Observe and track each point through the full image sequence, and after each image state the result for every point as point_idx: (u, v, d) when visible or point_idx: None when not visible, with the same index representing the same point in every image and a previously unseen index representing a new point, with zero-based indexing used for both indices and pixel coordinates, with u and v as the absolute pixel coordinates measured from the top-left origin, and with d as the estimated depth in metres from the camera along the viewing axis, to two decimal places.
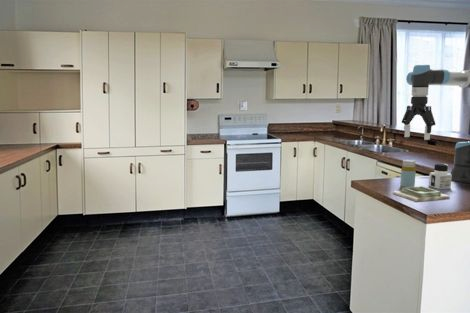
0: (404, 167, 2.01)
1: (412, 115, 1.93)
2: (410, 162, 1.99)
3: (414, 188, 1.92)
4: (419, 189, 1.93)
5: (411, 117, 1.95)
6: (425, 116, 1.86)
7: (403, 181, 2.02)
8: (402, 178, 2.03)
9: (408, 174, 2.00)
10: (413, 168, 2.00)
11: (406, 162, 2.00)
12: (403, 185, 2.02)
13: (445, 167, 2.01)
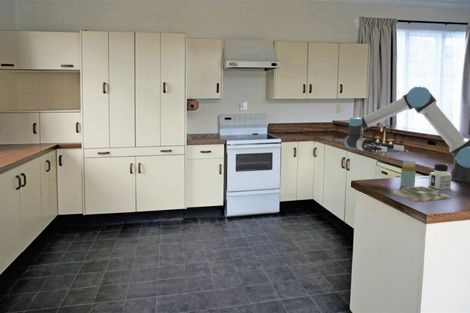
0: (404, 167, 2.01)
1: (382, 147, 2.21)
2: (410, 162, 1.99)
3: (414, 188, 1.92)
4: (419, 189, 1.93)
5: (385, 146, 2.21)
6: None
7: (403, 181, 2.02)
8: (402, 178, 2.03)
9: (408, 174, 2.00)
10: (413, 168, 2.00)
11: (406, 162, 2.00)
12: (403, 185, 2.02)
13: (445, 167, 2.01)
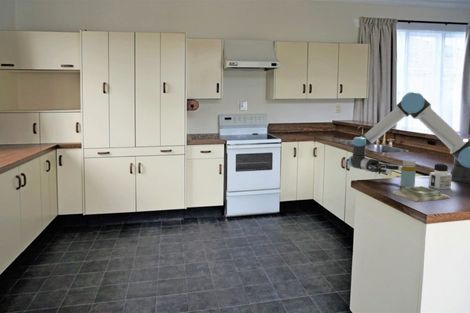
0: (404, 167, 2.01)
1: (387, 168, 2.19)
2: (410, 162, 1.99)
3: (414, 188, 1.92)
4: (419, 189, 1.93)
5: (390, 167, 2.18)
6: None
7: (403, 181, 2.02)
8: (402, 178, 2.03)
9: (408, 174, 2.00)
10: (413, 168, 2.00)
11: (406, 162, 2.00)
12: (403, 185, 2.02)
13: (445, 167, 2.01)
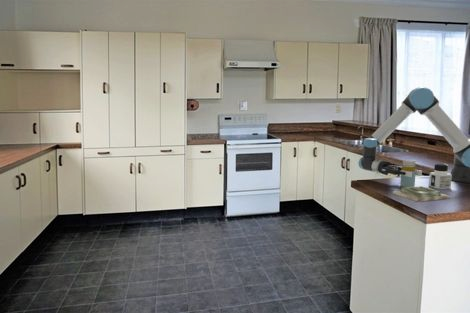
0: (404, 167, 2.01)
1: None
2: (410, 162, 1.99)
3: (414, 188, 1.92)
4: (419, 189, 1.93)
5: (401, 170, 2.10)
6: None
7: (403, 181, 2.02)
8: (402, 178, 2.03)
9: None
10: (413, 168, 2.00)
11: (406, 162, 2.00)
12: (403, 185, 2.02)
13: (445, 167, 2.01)
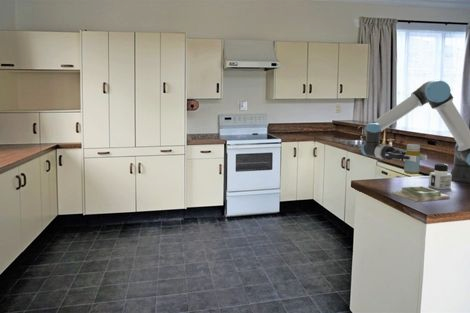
0: (408, 151, 1.93)
1: None
2: (414, 146, 1.91)
3: (414, 188, 1.92)
4: (419, 189, 1.93)
5: None
6: (396, 155, 1.99)
7: (407, 166, 1.94)
8: (406, 163, 1.94)
9: None
10: (417, 152, 1.92)
11: (410, 146, 1.92)
12: (407, 170, 1.94)
13: (445, 167, 2.01)
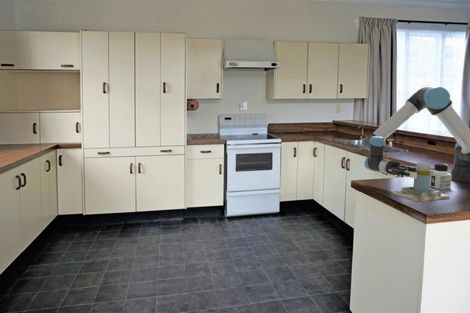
0: (418, 171, 1.84)
1: (409, 170, 1.96)
2: (425, 165, 1.82)
3: None
4: None
5: (412, 170, 1.95)
6: None
7: (416, 186, 1.85)
8: (415, 183, 1.86)
9: (422, 178, 1.83)
10: (428, 172, 1.83)
11: (420, 165, 1.83)
12: (416, 190, 1.85)
13: (445, 167, 2.01)
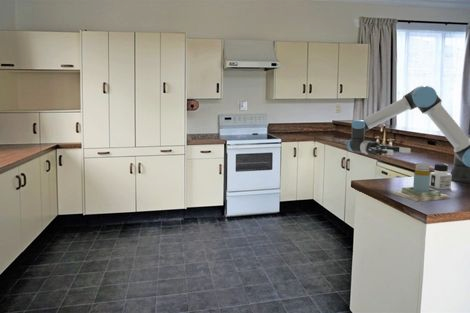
0: (417, 171, 1.84)
1: (388, 150, 2.12)
2: (424, 165, 1.82)
3: None
4: None
5: (390, 149, 2.11)
6: None
7: (416, 186, 1.85)
8: (415, 183, 1.86)
9: (421, 178, 1.83)
10: (427, 172, 1.83)
11: (420, 165, 1.83)
12: None
13: (445, 167, 2.01)
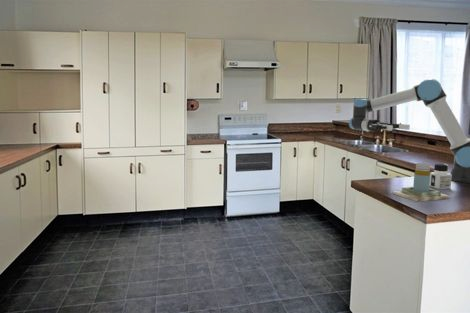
0: (418, 171, 1.84)
1: None
2: (424, 166, 1.82)
3: None
4: None
5: None
6: None
7: (416, 186, 1.85)
8: (415, 183, 1.86)
9: (422, 178, 1.83)
10: (427, 172, 1.83)
11: (420, 165, 1.83)
12: None
13: (445, 167, 2.01)
